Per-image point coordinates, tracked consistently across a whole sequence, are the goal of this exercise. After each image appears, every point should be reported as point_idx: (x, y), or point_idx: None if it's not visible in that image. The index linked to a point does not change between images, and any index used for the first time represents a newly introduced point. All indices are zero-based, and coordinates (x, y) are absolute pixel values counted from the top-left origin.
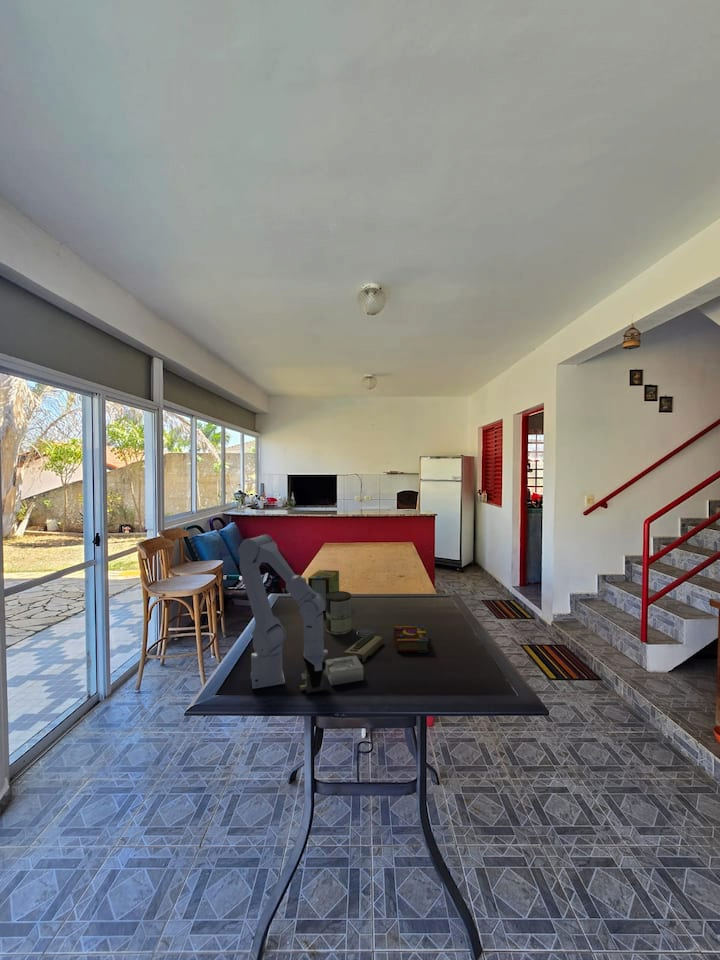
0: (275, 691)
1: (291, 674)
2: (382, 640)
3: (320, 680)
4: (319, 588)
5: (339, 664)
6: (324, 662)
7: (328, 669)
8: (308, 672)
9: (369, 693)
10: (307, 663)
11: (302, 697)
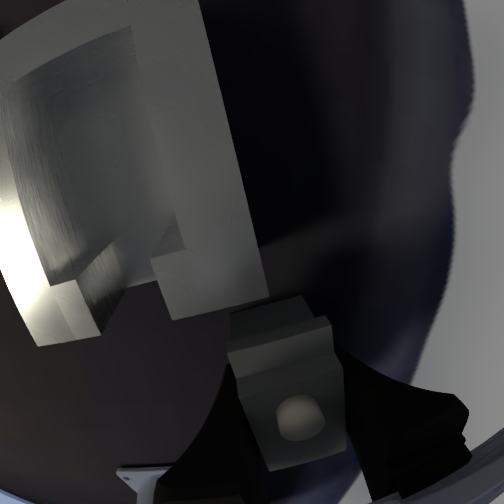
0: None
1: (131, 444)
2: None
3: (353, 356)
4: None
5: (44, 208)
6: (411, 437)
7: (111, 300)
8: (306, 453)
9: (369, 7)
10: (267, 501)
11: None
